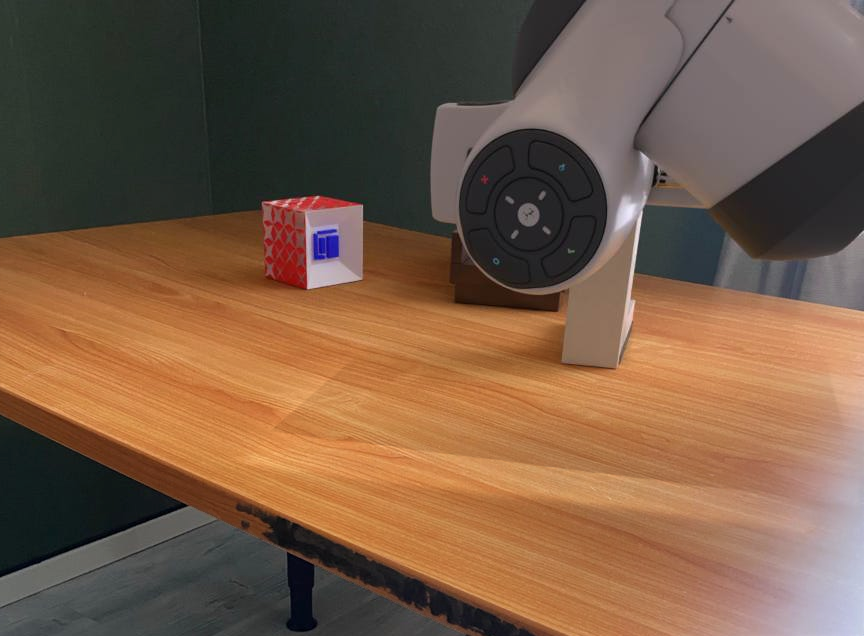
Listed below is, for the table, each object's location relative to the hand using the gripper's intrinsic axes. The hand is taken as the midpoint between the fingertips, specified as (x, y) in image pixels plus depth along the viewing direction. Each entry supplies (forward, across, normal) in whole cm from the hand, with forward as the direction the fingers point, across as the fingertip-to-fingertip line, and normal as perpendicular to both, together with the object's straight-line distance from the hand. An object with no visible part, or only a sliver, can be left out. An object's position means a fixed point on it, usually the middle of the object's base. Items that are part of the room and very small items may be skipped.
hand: (602, 148), depth 69 cm
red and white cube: (+33, +34, +18) cm, 51 cm away
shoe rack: (+39, +11, +18) cm, 44 cm away
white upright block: (+17, 0, +18) cm, 24 cm away
